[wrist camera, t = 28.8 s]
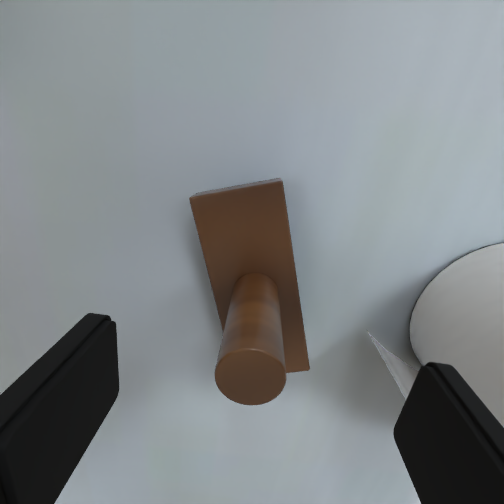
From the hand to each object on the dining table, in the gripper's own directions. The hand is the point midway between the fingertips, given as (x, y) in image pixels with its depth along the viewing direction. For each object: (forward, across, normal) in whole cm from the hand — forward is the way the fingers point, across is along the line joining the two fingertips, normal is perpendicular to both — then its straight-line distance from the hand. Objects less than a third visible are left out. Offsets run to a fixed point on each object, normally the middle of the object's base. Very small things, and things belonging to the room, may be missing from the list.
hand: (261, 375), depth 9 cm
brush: (+10, 0, +1) cm, 10 cm away
